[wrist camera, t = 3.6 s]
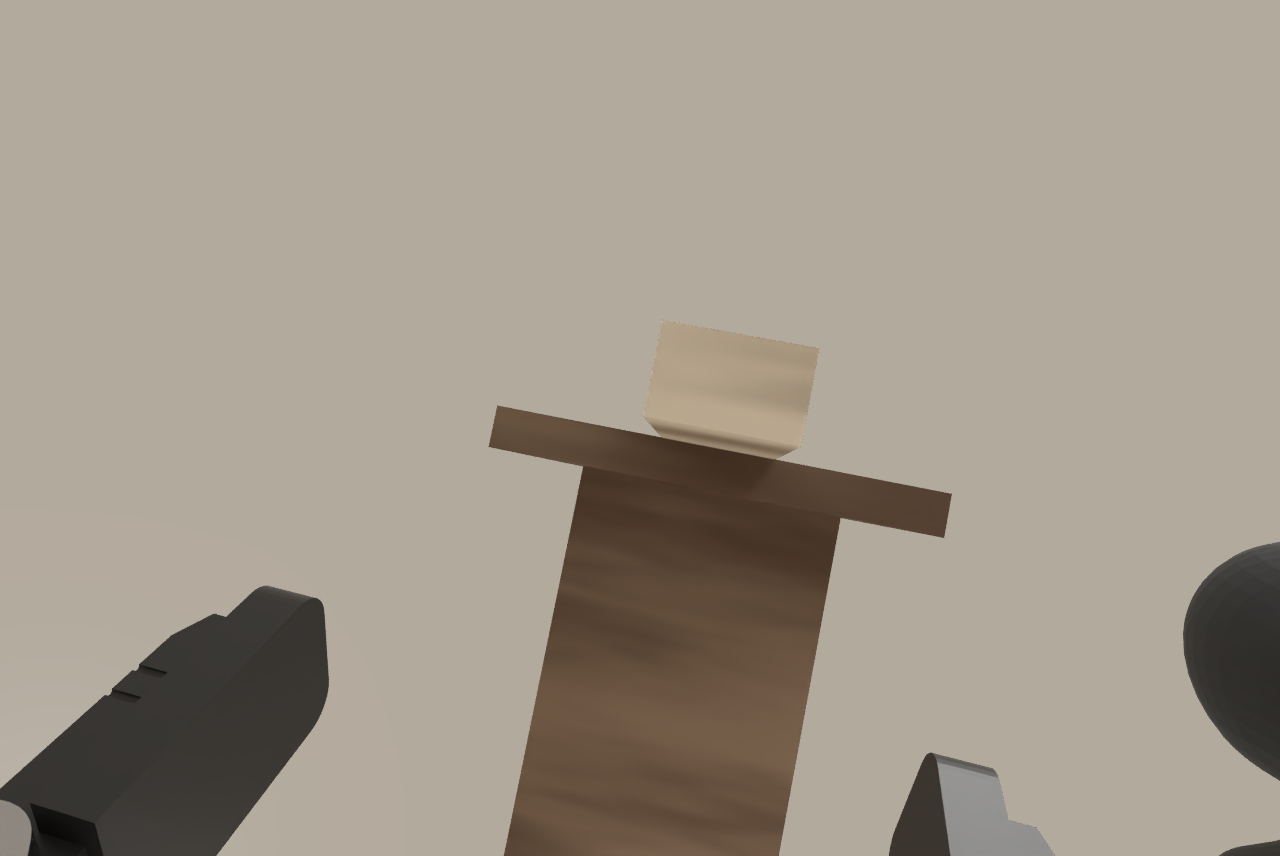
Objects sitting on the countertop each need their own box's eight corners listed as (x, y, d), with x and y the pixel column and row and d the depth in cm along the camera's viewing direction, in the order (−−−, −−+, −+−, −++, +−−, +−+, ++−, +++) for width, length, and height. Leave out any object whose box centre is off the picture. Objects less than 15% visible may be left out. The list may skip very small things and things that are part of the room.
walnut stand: (451, 1028, 43) (572, 436, 45) (750, 1111, 41) (863, 493, 43) (298, 1343, 27) (497, 405, 29) (776, 1497, 25) (951, 493, 27)
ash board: (676, 453, 40) (685, 404, 41) (756, 469, 40) (765, 419, 40) (642, 416, 20) (662, 320, 21) (800, 446, 20) (819, 348, 20)
